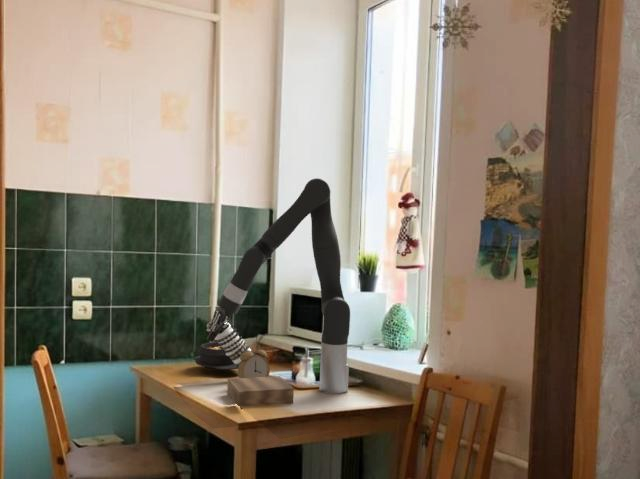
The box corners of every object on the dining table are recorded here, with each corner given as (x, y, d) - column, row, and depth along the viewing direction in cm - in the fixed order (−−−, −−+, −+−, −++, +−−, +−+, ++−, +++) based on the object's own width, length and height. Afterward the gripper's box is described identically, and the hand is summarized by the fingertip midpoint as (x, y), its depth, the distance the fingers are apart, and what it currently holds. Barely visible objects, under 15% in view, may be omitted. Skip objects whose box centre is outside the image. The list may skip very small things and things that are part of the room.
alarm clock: (242, 390, 235) (243, 347, 234) (235, 386, 239) (236, 344, 238) (270, 385, 242) (271, 344, 241) (262, 382, 246) (264, 341, 245)
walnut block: (278, 393, 234) (279, 376, 234) (293, 406, 219) (293, 388, 219) (227, 396, 228) (227, 378, 228) (238, 410, 213) (239, 391, 213)
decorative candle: (249, 369, 257) (207, 320, 252) (267, 359, 253) (225, 308, 248) (242, 383, 248) (198, 332, 243) (261, 372, 245) (217, 320, 240)
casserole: (257, 370, 264) (257, 348, 263) (215, 376, 252) (216, 354, 251) (222, 357, 283) (223, 337, 282) (182, 363, 271) (183, 342, 270)
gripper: (247, 308, 234) (223, 351, 235) (237, 295, 246) (214, 336, 247) (228, 300, 231) (204, 344, 232) (219, 287, 243) (196, 329, 244)
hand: (209, 340), depth 240 cm, fingers closed
